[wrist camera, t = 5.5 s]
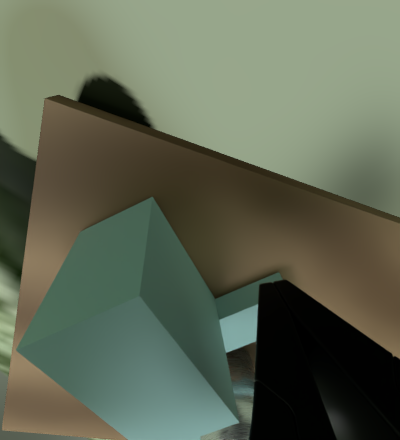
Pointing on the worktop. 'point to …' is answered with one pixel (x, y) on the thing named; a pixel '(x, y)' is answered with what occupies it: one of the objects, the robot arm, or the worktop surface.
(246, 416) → the post
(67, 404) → the board
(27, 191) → the worktop surface
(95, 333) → the flange
